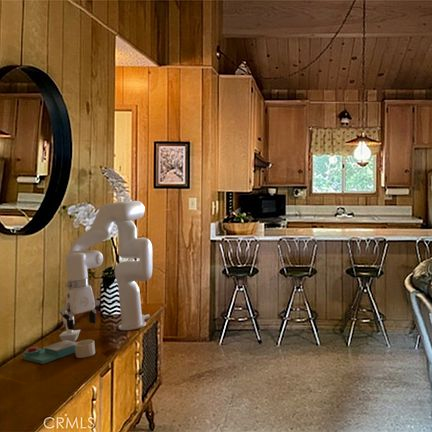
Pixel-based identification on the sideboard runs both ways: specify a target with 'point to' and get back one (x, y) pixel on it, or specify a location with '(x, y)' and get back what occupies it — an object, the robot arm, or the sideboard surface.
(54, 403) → the sideboard surface
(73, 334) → the figurine
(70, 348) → the weighing plate
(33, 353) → the scale
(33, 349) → the tare button
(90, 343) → the cup
